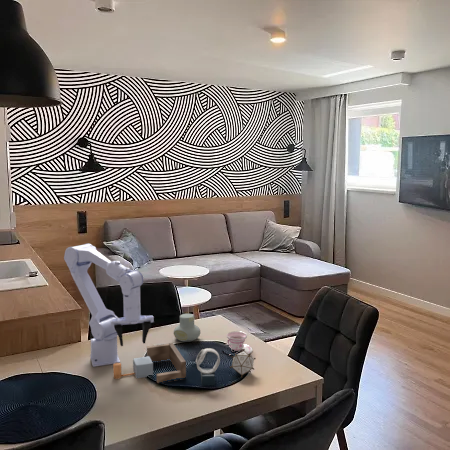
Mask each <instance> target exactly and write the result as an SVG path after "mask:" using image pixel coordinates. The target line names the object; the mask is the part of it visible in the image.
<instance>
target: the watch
mask: <svg viewBox="0 0 450 450" xmlns="http://www.w3.org/2000/svg"><path fill="white" fill-rule="evenodd" d="M208 352H209V353H214V355H215V356H217V358H216V359H217V360H216V362H215V364H214V365H213V367H212V368H202V367H200V365H201V364H202V363H203V361H204V359H205V357H206V354H207V353H208ZM220 362H221V358H220V354H219V352H218V351H217V350H216V349H214V348H210V347H209V348H208V347H207V348H204V349H203V348H202V349H201V350H200V351H199V353H198V354H197V356H196V359H195V364H196V368H197V370H198V371H199V372H200V377H201V386H215V385H216V375H215V373H216V370H217V369H218V367H219V365H220Z"/></svg>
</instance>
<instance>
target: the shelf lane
mask: <svg viewBox="0 0 450 450" xmlns="http://www.w3.org/2000/svg"><path fill="white" fill-rule="evenodd" d="M147 356H149V357H150V359H151V360H152V361H161V360H167V359H170V360H171V362H172V364H173V365H174V367H175V368H176V370H177V371H176V370H174V371H173V370H172V371H166V372H161V373H156V383H157V384H160V383H159V382H162V383H164V382H163V381H167V380H171V379H176V378H185V377H186V378H187V366H186V365H187V362H186V360H185V358H184V357H183V355H182V354H181V352H180V351H179V350H178V347H176V345H175V344H174V343H173V342H168V343H161V344H154V345H147V346H146V357H147ZM171 362H170V363H171ZM172 364H171V365H172ZM173 365H172V366H173ZM174 367H173V368H174ZM175 368H174V369H175Z"/></svg>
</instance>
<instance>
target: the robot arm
mask: <svg viewBox="0 0 450 450" xmlns="http://www.w3.org/2000/svg"><path fill="white" fill-rule="evenodd" d="M63 260H64V261H65V263H66V265H67V267H68V269H69V272H70V275H71V277H72V279H73V281H74V284H75V285H76V287H77V289H78V291H79V293H80V295H81V296H82V298H83V300H84V302H85V304H86V306H87V308H88V310H89V312H90V314H91V318H90V320H89V322H88V325H89V326H90V330H91V334H92V337H93V338H90V355H89V357H90V360H91V365H92V368H93V367H100V366H107V365H113V364H115V363H121V360H120V358H119V355H118V340H119V344H120V347H124V340H123V325H124V326H125V325H136V324H141V328H142V330H141V331H142V334H141V335H142V336H141V339H142V340H141V341H142V343H143V344H146V341H147V336H148V333H149V331H150V329H151V327H152V323H155V321H154V318H155V317H154V316H153V315H142V314H141V286H142V285H143V284H144V279H145V278H144V274H143V273H142V272H141V271H140V270H138V269H131V268H130V267H127V266H125V265H123V264H122V263H121V261H120V260H110V259H109V258H107V257H106V256H105V255H103V254H102V253H101V252H100V251H98V250H97V247H96V246H95V245H93V244H91V243H84V244H81V245H75V246H69V247H66V249H65V251H64V256H63ZM92 263H93V264H95V265H96V266H99V267H100V268H102V269H103V270H105V274H106V275H107V276H109V277H110V278H111V279H113V280H115V281H116V282H118V283H119V286H120V288H121V293H122V298H123V299H122V300H123V302H122V303H123V317H118V316H117V315H116V314H115V312H114V311H113V310H111V309H108V308H107V307H106V306H105V304H104V302H103V299H102V298H101V296H100V294H99V292H98V290H97V288H96V286H95V284H94V282H93V280H92V278H91V276H90V275H89V273H88V270H89V268H90V267H91V265H92ZM118 338H119V339H118Z"/></svg>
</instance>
